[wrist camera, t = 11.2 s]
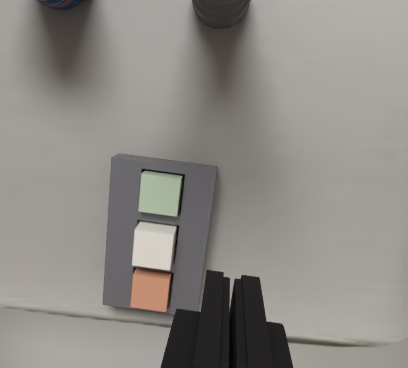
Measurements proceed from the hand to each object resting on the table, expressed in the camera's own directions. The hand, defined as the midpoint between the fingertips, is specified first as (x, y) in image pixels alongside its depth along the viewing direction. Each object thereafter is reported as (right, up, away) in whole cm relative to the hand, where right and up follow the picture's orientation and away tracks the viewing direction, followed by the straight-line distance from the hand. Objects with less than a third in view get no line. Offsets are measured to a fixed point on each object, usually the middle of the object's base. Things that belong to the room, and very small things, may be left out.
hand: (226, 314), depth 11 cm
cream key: (-6, -3, +31) cm, 31 cm away
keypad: (-6, -2, +32) cm, 33 cm away
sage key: (-6, +4, +30) cm, 31 cm away
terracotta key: (-7, -8, +33) cm, 35 cm away
